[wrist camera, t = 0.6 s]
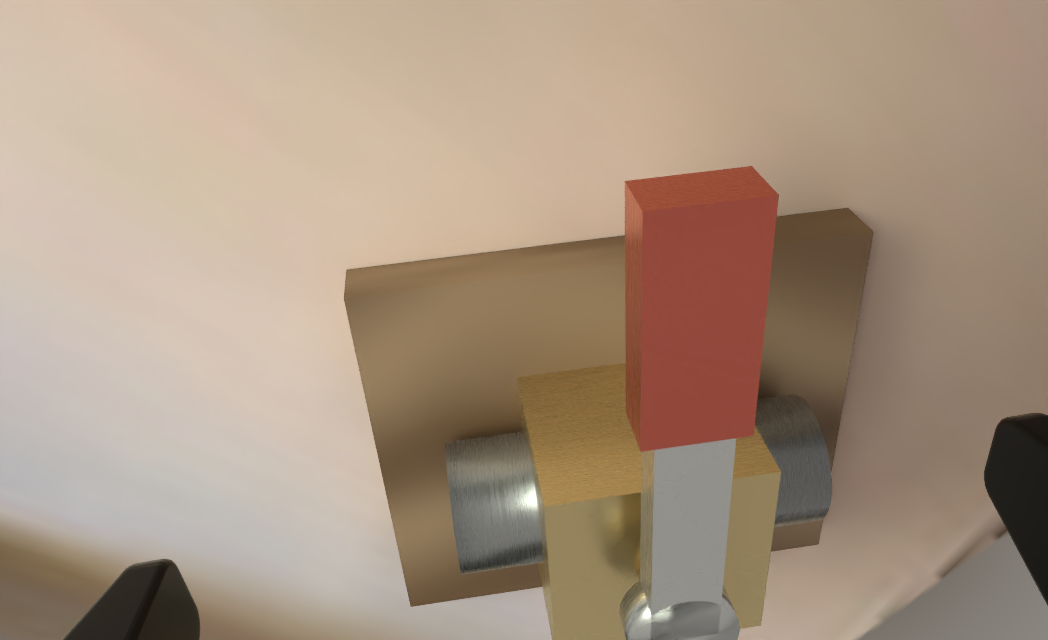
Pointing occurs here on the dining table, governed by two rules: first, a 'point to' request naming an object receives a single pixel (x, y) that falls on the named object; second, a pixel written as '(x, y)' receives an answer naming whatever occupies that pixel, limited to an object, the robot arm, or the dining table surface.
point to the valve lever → (692, 383)
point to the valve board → (560, 362)
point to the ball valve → (617, 497)
